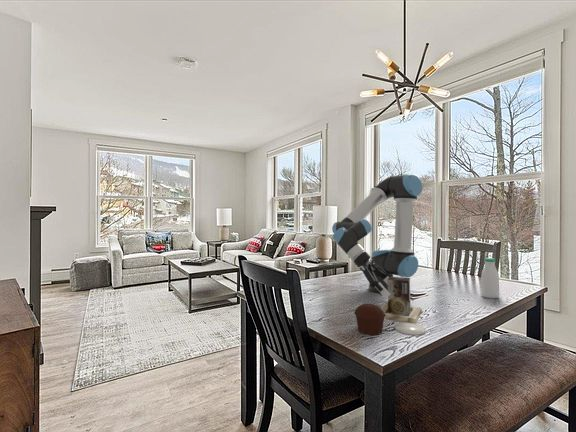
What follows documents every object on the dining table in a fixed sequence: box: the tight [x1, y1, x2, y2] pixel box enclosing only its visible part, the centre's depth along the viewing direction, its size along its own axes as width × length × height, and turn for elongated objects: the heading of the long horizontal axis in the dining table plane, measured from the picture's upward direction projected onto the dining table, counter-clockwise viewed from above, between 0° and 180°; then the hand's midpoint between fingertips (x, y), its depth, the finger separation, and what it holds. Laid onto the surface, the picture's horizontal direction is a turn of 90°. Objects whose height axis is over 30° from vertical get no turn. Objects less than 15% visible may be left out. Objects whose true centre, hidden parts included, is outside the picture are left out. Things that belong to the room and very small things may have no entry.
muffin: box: [353, 303, 385, 337], centre depth 120 cm, size 12×11×10 cm
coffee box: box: [387, 276, 411, 317], centre depth 137 cm, size 9×6×16 cm
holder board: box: [380, 302, 423, 324], centre depth 137 cm, size 16×16×2 cm
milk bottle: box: [480, 257, 500, 299], centre depth 162 cm, size 8×8×20 cm
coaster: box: [394, 322, 426, 336], centre depth 121 cm, size 11×11×1 cm
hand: (392, 292), depth 137 cm, fingers open, 13 cm apart
